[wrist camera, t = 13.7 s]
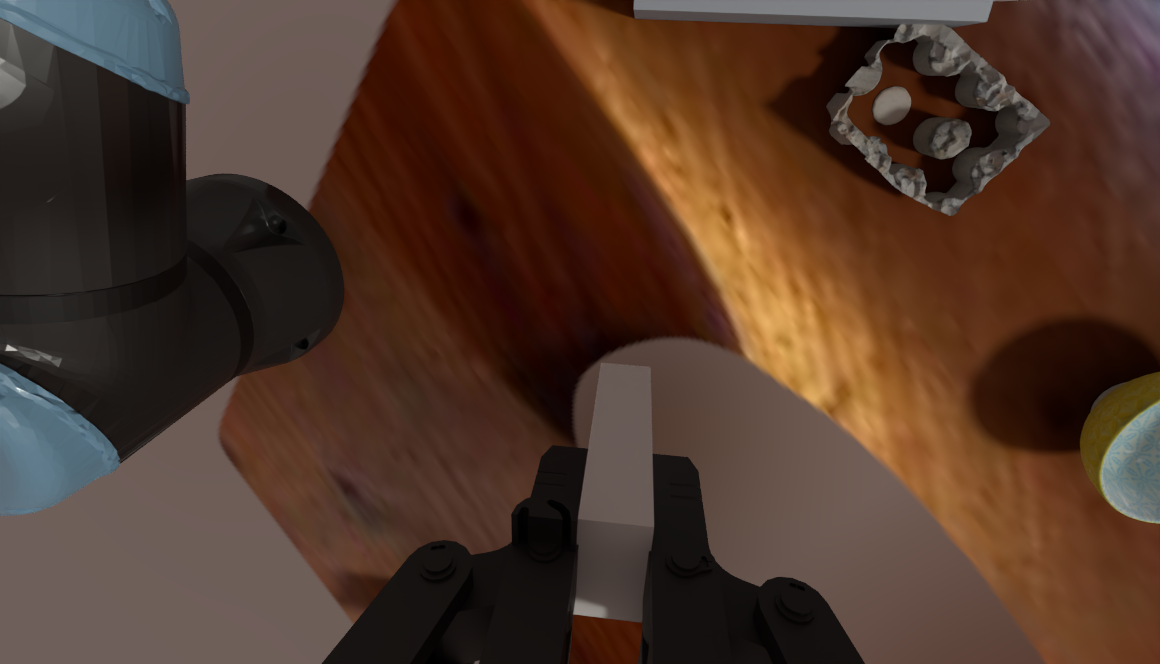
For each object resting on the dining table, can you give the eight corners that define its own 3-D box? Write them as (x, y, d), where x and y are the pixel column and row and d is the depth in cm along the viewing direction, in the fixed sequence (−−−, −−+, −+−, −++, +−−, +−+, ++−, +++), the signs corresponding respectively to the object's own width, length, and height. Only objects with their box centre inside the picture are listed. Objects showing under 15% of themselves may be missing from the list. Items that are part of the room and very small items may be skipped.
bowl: (1256, 363, 39) (1359, 411, 33) (1141, 484, 44) (1214, 543, 38) (1105, 317, 38) (1184, 358, 33) (1007, 444, 43) (1061, 498, 38)
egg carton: (805, 119, 36) (823, 124, 32) (898, 8, 32) (930, -1, 29) (922, 216, 37) (953, 231, 33) (1021, 120, 34) (1067, 125, 30)
